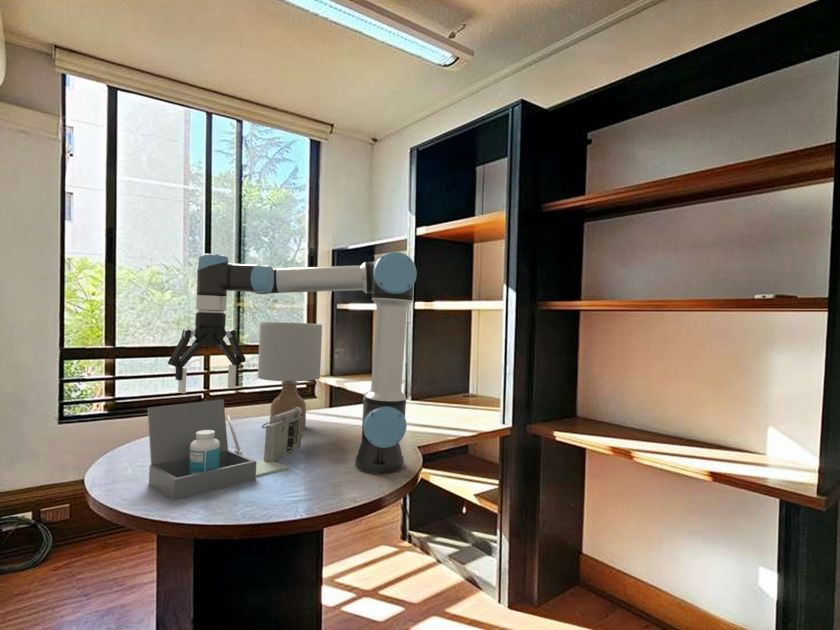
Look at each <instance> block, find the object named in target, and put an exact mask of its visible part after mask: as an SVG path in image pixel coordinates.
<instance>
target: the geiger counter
mask: <svg viewBox="0 0 840 630" xmlns="http://www.w3.org/2000/svg"><path fill="white" fill-rule="evenodd" d="M301 414H302V409H301V408H300V407H296V408H293V409H292V410H290V411H287V412H284V413H281V414H278V415H275V416H272V418H271V422H270V421H269V422H266V423H264V424H262V425H261V428H262V429H265V443H264V451H263V452H264V453H263V459H264V461H268V462H273V461H275V462H276V461H277V460H279V459H281V458H283V457H285V456H287V455H289V454H291V453H292V452H295V451H296V450H298V449H300V448H301V444H302V439H303V437H304V429H302V422H303V416H300V415H301ZM270 423H272V424H270Z"/></svg>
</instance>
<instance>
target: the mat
mask: <svg viewBox="0 0 840 630" xmlns="http://www.w3.org/2000/svg"><path fill="white" fill-rule="evenodd" d="M255 461H256V478H257V477H261V476H265V475H269V474H272V473H277V472H281V471H284V470H288V469H289V467H288V466H287V465H285V464H282V463H280V462H277V461H276V460H275V461H273V462H268V461H264V458H263V459H259V460H255Z"/></svg>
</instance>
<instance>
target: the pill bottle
mask: <svg viewBox="0 0 840 630" xmlns="http://www.w3.org/2000/svg"><path fill="white" fill-rule="evenodd" d="M214 436H215V431H213V430H202V431H198V432H196V438H197V440H194V441H193V442H192V443H191V444H190V460H189V475H192V474H196V473H201V472H205V471H209V470H214V469H218V468H219V457H220V442H219V441H218V440H217V439H215V438H214Z"/></svg>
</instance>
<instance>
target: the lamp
mask: <svg viewBox="0 0 840 630" xmlns="http://www.w3.org/2000/svg"><path fill="white" fill-rule="evenodd" d="M322 338H323V324H322V323H320V324H319V323H309V322H308V323H306V322H305V323H304V322H284V321H283V322H274V321H271V322H269V321H268V322H267V321H263V322H262V321H261V322H259V340H258V341H259V342H258V343H259V344H258V363H257V364H258V366H257V378H258V379H260V380H264V381H274V382H281V385H282V386H281V391H280V393H279V395H278V396H277V397H275V398H274V399H273V400H272V402H271V404H270V409H269V410H270V411H269V413H270V414H269V422H271V418H272V416H275V415H278V414H281V413H284V412H287V411H290V410H292V409H293V408H296V407H300V408H301V409H302V414H301V415H300V416H303V422H302V429H303V430H304V429H305V428H306V425H307V404H306V401H305V400H304V399H303V397H302V396H300V395H299V393H298V390H297V389H298V388H297V385H298V382H308V381H314V380H315V381H316V380H319V379H321V366H322V365H321V363H322V362H321V361H322ZM270 424H272V423H269V425H270Z"/></svg>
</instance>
